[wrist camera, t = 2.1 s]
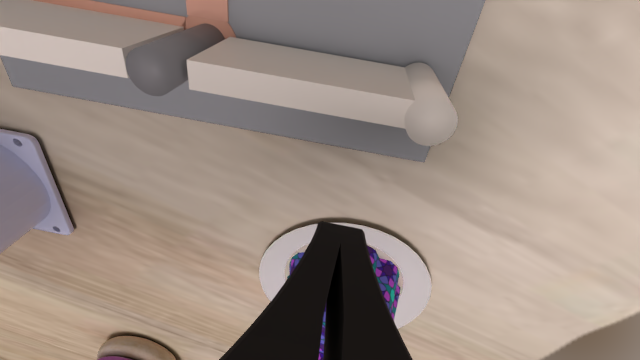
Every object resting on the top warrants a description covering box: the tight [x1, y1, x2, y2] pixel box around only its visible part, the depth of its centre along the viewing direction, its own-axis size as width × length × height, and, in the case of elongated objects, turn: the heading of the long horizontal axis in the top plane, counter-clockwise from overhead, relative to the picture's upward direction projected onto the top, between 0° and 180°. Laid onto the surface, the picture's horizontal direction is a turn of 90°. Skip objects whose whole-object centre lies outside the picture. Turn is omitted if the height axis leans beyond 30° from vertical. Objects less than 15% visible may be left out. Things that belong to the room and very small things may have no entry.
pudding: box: [259, 223, 432, 360], centre depth 21 cm, size 12×12×5 cm
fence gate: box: [186, 37, 458, 146], centre depth 12 cm, size 9×2×4 cm, turn 82°
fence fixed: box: [0, 0, 225, 96], centre depth 13 cm, size 11×2×5 cm, turn 82°
